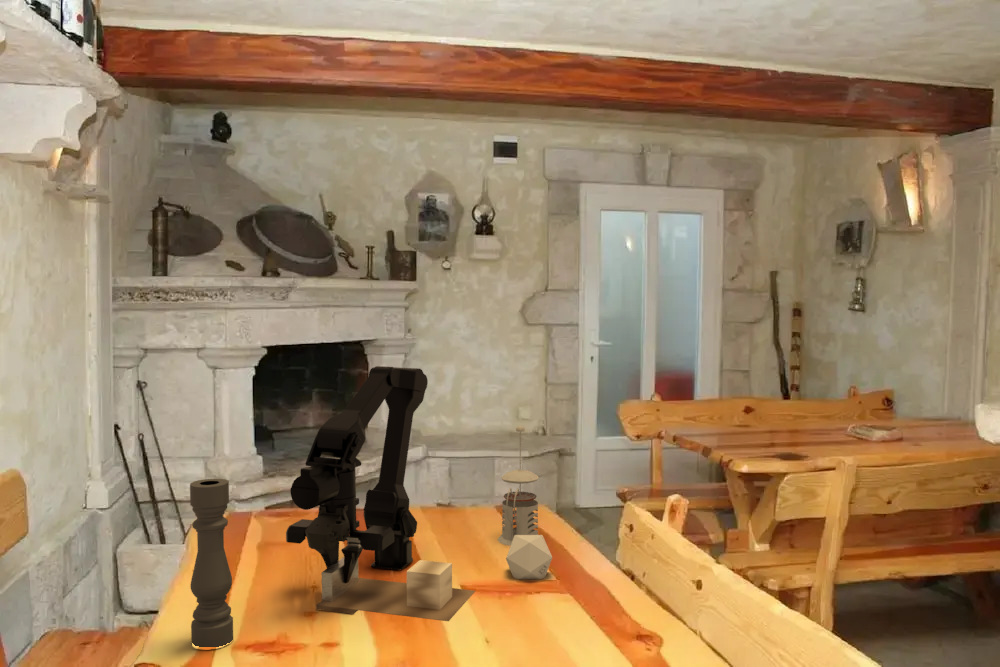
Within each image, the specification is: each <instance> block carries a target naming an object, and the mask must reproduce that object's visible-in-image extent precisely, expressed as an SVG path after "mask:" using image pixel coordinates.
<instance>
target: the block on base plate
mask: <svg viewBox="0 0 1000 667" xmlns="http://www.w3.org/2000/svg"><path fill="white" fill-rule="evenodd" d="M475 592H476V590H473V589H472V590H471V589H463V588H454V587H452V598H451V599H450V600H449V601H448V602H447V603H446V604H445V605H444V606H443V607H442V608H441V609H440V610H438V609H429V608H421V607H412V606H407V582H400V581H391V580H381V579H375V578H374V579H373V578H364V577H359V559H358V560H357V562H356V565H355V568H354V570H353V573H352V575H351V578H350V580H349V582H348V583H344V556H343V557H341V558H340V559H339V561H337V562H336V563H334V564H333V565H331V566H330V567H328V568H327V567H326V569H324V570H322V571H321V601H319V602H318V603H317V604H315V605H316V606H315V607H316V608H315V609H316V610H320V611H325V612H326V611H327V612H333V613H334V612H335V613H340V614H341V613H344V614H351V615H355V614H356V613H357V612H358V611H363V612H369V613H379V614H385V615H386V614H387V615H393V616H401V617H410V618H418V619H427V620H434V621H442V622H443V621H444V622H450V620H452V618H453V617H454V616H455V615H456V614H457V612H459V610H460V609H461V608H462V607H463V606H464V605H465V604H466V603H467V602H468V600H469V599H470V598H471V597H472V596H473V595H474V594H475Z"/></svg>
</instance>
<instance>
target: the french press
mask: <svg viewBox="0 0 1000 667" xmlns="http://www.w3.org/2000/svg"><path fill="white" fill-rule="evenodd" d="M515 431H516V432H517V433H518V432H519V468H518V469H514V470H511V471H507V472H506V473H505V474H503V475H502V476H501V480H502V481H503V482H505V483H509V484H519V488H516V490H515V491H512V489H513V488H512V487H510V488H509V489H508V492H506V493H504V494H503V498H504V499H505V500H502V502H501V507H502V510H501V514H502V516H501V517H502V518H501V520H502V522H501V526H502V527H501V530H502V531H501V532H502V534H500V535H499V537H498V538H497V541H498V543H499V544H502V545H504V546H509V547H510V546H511V544H512V541H513V538H514V535H539V533H538V532H539V530H538V529H539V525H538V523H539V519H538V517H539V514H538V510H539V501H537V500H536V498H537V494H535V493H533V492H530V491H522V490H521V489H522V488H521V486H522V485H523V484H530V483H534V482H537V481H538V480H539V476H538V475H537V474H536V473H534V472H532V471H530V470H527V469H526V470H525V469H522V466H521V465H522V462H521V461H522V459H521V458H522V456H521V455H522V454H521V453H522V448H521V447H522V440H521V439H522V438H521V437H522V433H523V432H525V427H524V426H523V425H518V426H517V427H516V428H515ZM521 432H522V433H521ZM534 511H536V512H534ZM535 523H536V524H535ZM514 526H516V527H514Z"/></svg>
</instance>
